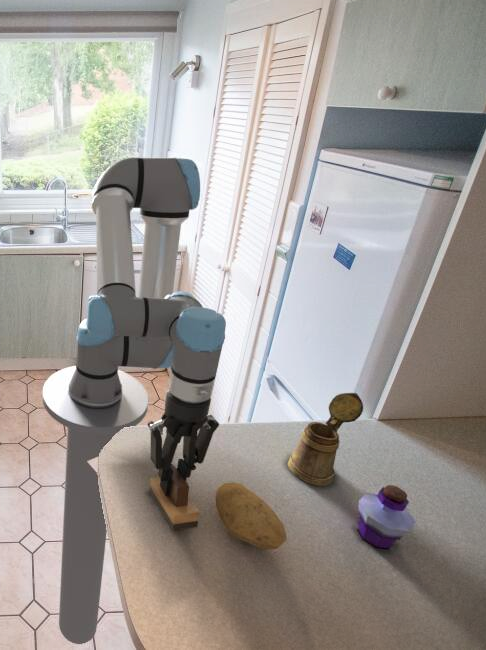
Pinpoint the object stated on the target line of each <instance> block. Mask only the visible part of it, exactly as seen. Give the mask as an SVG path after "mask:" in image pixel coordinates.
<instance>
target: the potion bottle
mask: <svg viewBox="0 0 486 650" xmlns="http://www.w3.org/2000/svg"><path fill="white" fill-rule="evenodd" d="M409 502H410V501H409V499H408V494H407V493H406V491H405V490H404V489H402V488H400V487H398V486H397V485H391V484H388V485H386V486H385V487H384V486H383V487H382V488H381V489H380V490H379V491H378V492H377V493H369V492H366V493H365V494H364V495H363V496H362V497H361V498H360V499H359V500H358V510H357V514H358V516H359V518H358V528H357V532H358V534H359V536H360V538H361V540H362V541H364V542H365V543H367V544H368V545H370V546H371V547H373V548H374V549H379V550H387V551H388V550H390V548H391V547H392V546H393V545H394V543H395V542H396V541H400V540H401V539H402V538H403V537H405V536H406V535H407V534H408V533H409V532H410V531H411V530H412V528H413V527H414V526H415V524H417V521H416V520H415V518H414V517H413V515H412V514H411V512H410V511H409V510H408V508H407V507H408V505H409Z"/></svg>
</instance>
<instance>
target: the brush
mask: <svg viewBox="0 0 486 650" xmlns="http://www.w3.org/2000/svg"><path fill="white" fill-rule="evenodd" d="M171 467H172V469H173V476H172V481H171V486H170V492H169V495H168V496H165V494H164V492H163V491H162V489H161V487H160V480H161V479H160V478H159V476H157V477H150V478H149V494H150V495H151V497H152V499H153V500H154V502H155V503H156V505H157V507H158V509H159V510H160V512H161V513H162V516H163V517H164V519H165V520H166V521H167V523H168V525H169V527H170V528H171V530H172V531H173V532H174V531H182V530H188V529H194V528H195V529H196V528H198V526H199V517H200V511H199V510H198V509H197V507H196V506H195V504H194V502H193V501H192V500H191V498H190V497H189V493H190V485H189V483H188V482H187V480H186V481H185V479H184V478H183V477H182V475H181V474H180V473H179V471H178V470H177V467H176V466H175V465H174V463H171Z"/></svg>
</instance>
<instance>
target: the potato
mask: <svg viewBox="0 0 486 650" xmlns="http://www.w3.org/2000/svg"><path fill="white" fill-rule="evenodd" d="M214 503H215V507H216V511H217V513H218V516H219V517H218V518H219V519H220V521H221V523H222V524H223V525H224V527H225V528H226V530H227V531H228V532H229V533H230V534H231V535H232V536H234V537H235V538H237V539H238V540H241V541H243V542H245V543H248V544H250V545H252V546H254V547H257V548H260V549H263V550H278V549H279V548H280V547H281V546H282V545H283V544H285V543H286V542H287V541H288V537H287V533H286V528H285V524H284V523H283V521H282V520H281V519H280V517H279V515H277V513H276V512H275V511H274V510H273V509H272V507H271V506H269V504H268V503H267V502H266V501H265V500H264V499H262V497H261V496H259V495H258V494H257V493H255V492H254V491H252V490H251V489H250V488H249V487H247V486H245V485H244V484H242V483H239V482H235V481H228V482H223V483H221V485H220V486H218V487H217V488H216V490H215V492H214Z"/></svg>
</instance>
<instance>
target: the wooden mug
mask: <svg viewBox="0 0 486 650" xmlns="http://www.w3.org/2000/svg"><path fill="white" fill-rule="evenodd" d="M328 412H329V415H330V416H329V418H328V419H327V421H326V422H325V423H322V422H318V421H313V422H310V423H308V424H307V426H306V427H305V428H304V429H303V431H302V433H301V434H300V437H301V438H300V440H299V441H298V444H297V445H296V446H295V449H294V451H293V452H291V455H290V456H289V458H288V462H287V466H288V469H289V470H290V471H291V473H292V474H293V475H294V476H296V477H297V478H299V480H302V481H304V482H306V483H309V484H312V485H315V486H327V485H329V484H330V483H332V481H334V475H335V469H334V467H335V461H336V456H337V451H338V450H339V447H340V435H339V433H338V430H339V429H340V428H341V427H342V425H343V424H344V423H351V422H355V421H356V420H358V419H359V418H360V417H361V415H362V414H363V412H364V403H363V401H362V399H361V397H360V395H358V393H357V392H344V393H343V392H342V393H339V394H337V395H335V396H334V397H333V398H332V399H331V401H330V403H329V404H328Z"/></svg>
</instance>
